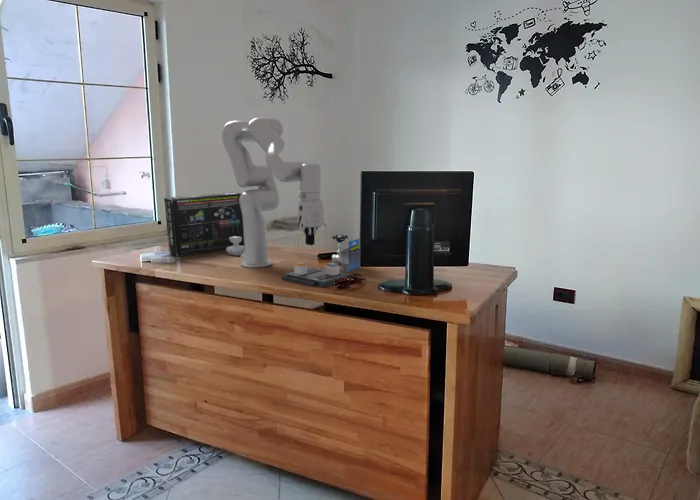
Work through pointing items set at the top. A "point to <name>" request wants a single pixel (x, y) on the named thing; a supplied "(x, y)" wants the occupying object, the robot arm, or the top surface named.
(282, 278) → the dark grey bar
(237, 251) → the stamp
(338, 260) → the valve
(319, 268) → the back cord
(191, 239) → the router box
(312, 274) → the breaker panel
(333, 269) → the grey-capped toggle
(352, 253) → the label tape box
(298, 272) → the orange-capped toggle
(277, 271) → the top surface
